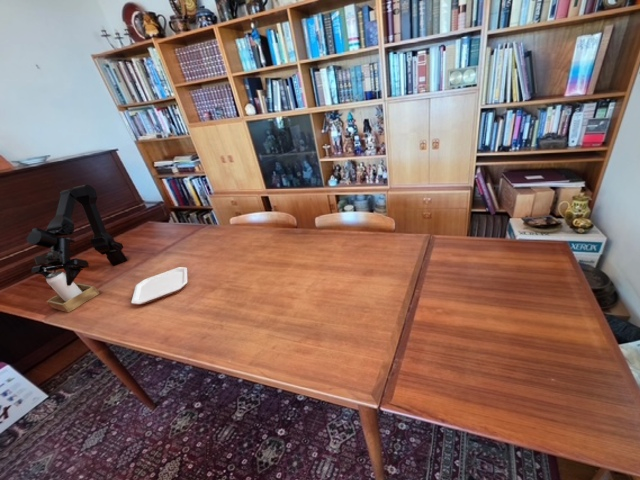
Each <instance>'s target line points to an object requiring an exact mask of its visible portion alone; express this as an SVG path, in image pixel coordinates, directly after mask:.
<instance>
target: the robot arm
mask: <svg viewBox="0 0 640 480" xmlns="http://www.w3.org/2000/svg"><path fill="white" fill-rule="evenodd" d="M59 195H60V197H59V202H58V205H57V209H56V213H55V216H54V218H52V219H51V220H50V221H49V223H48V225H47V227H46V229H42V228H39V227H35V228H32V231H31V232H30V233H28V236H26V241H27V243H28V244H30V245H31V246H32V245H34V246H37V247H41V248H45V249H50V251H48V252H47V253H46V254H43V255H37V256H33V259H34V262H35V264H36V265H34V266H33V267H31V274H36V275H42V276H43V277H44V278H45V277H46V276H47V275H49V274H51V273H53V272H56V271H60V270H64V273H66V282H67V285H68V286H70V285H71V284H72V282H74V281H75V279H76V278H77V277H78V275H79V274H80V273H81V271H83V269H86V268H89V266H90V265H89V261H87V260H85V259H81V258H71V257H74V253H72V252H71V244H75V243H76V240H74V239H73V238H72V237H71V236H70V235H73V234H74V233H75V223H74V221H73V220H72V219H73V214H74V210H75V205H76V202H77V203H78V204H80V205H81V207H82V208H83V211H84V214H85V216H86V219H87V221H88V223H89V226H90V229H91V230H92V233H93V238H90V243H91V244H92V248H93V249H94V250H95V251H97V252H98V253H99V254H100V255H102V256H104V255H105V256H106V259H107V260H108V262H109V264H111V265H112V266H113V267H114V266H117V265H119V264H122V263H124V262H127V261H128V256H127V255H125V253H124V251H123V248H124V245H123V243H122V242H118V241H116V240H115V239H114V237H113V236H112V235H111V234H109V233H108V231H107V229H106V227H105V224H104V222H103V219H102V216H101V214H100V212H99V208H98V206H97V201H98V194H97V191H96V189H95V187H94V186H92V185H90V184H84V185H78V186H73V187H72V188H69V189H64V190H61V191H60V192H59ZM66 236H69V237H66ZM44 264H45V265H44ZM49 288H50V289H52V290H54V289H53V288H52V287H51V286H50V285H49Z"/></svg>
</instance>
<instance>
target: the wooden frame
mask: <svg viewBox="0 0 640 480" xmlns="http://www.w3.org/2000/svg"><path fill="white" fill-rule="evenodd" d="M75 284H76V285H77V286H78V288H79V289H80V290H81V291H82V293H80V294H79V295H77V296H75V297H73V298H72V299H70V300H68V301H64V300H63V299H62V298H61V297H60V296H59V295H58V294H57V295H55V296H53V297H51V298H49V299H48V300H46V303H47V304H48V305H49V306H50V307H51V308H52V309H55V310H59V311H63V312H65V313H70V312H72V311H73V310H75V309H77V308H79V307H80V306H81V305H83V304H85V303H87V302H89V301H90V300H91V299H94V297H96V296H98V295H99V294H100V292H99V290H98V289H97V288H96V286H94V285H90V284H83V283H75Z"/></svg>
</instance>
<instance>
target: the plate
mask: <svg viewBox="0 0 640 480" xmlns="http://www.w3.org/2000/svg"><path fill="white" fill-rule="evenodd" d="M187 284H188V267H185V266H184V267H183V266H178V267H176V268H172V269H170V270H167V271H164V272H161V273H157V274H156V275H153V276H149V277H147V278H144V279H143V280H141V281H140V282H138V283H137V284H135V287H134V290H133V295H132V298H131V302H130V303H131V304H132V305H138V306H140V305H144V304H149V303H152V302H155V301H158V300H160V299H162V298H165V297H168V296H171V295H173V294H176V293H178V292H179V291H181V290H182V289H183V288H184V287H186V285H187Z"/></svg>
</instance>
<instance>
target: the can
mask: <svg viewBox="0 0 640 480" xmlns="http://www.w3.org/2000/svg"><path fill="white" fill-rule="evenodd" d="M44 279H45V281H46V283H47V284H48V285H49V287H50V286H51V287H52V288H53V289H52V290H54V291H55V293H56V294H57V295H59V296H60V297H61V298H62V299H63V300H64V301H66V302H67V301H68V300H70V299H72V298H73V297H75V296H77V295H79V294H80V293H82V291H81V290H80V289H79V288H78V286H77V285H76V284H77V283H75V282H74V281H73V282H72V284H71V285H70V286H68V285H67V282H66V272H65V271H63V270H56V272H53V273H51V274H49V275H47V276H46V277H44ZM51 287H50V288H51Z"/></svg>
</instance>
